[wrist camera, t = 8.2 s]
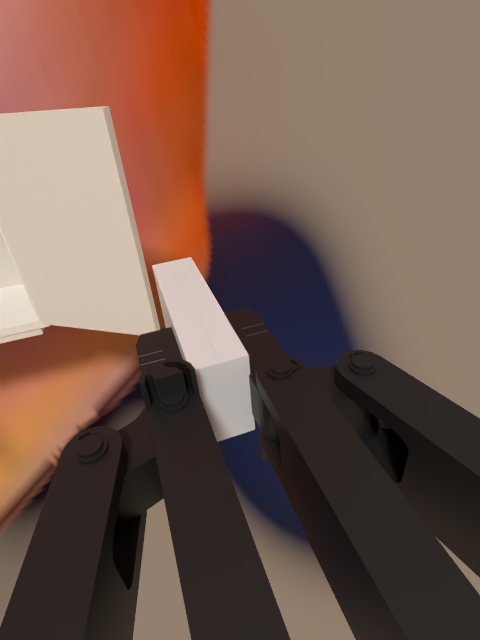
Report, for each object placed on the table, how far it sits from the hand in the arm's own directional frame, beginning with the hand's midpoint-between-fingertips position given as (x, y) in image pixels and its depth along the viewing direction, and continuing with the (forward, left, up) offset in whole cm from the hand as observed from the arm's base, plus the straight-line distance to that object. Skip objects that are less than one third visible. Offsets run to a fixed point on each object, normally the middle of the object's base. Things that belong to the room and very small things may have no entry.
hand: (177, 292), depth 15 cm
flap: (-5, 0, -9) cm, 11 cm away
